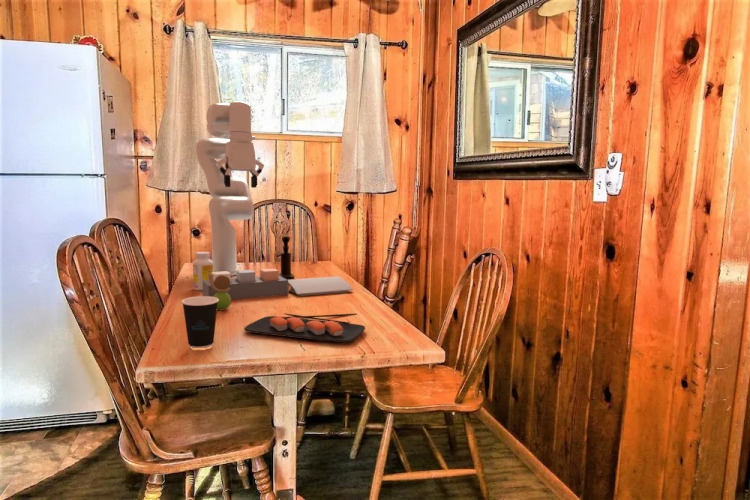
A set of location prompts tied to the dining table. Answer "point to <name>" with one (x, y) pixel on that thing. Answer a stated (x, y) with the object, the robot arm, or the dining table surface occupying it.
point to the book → (319, 286)
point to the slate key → (245, 276)
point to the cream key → (216, 274)
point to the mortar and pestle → (286, 260)
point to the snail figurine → (221, 290)
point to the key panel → (251, 288)
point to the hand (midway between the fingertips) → (241, 187)
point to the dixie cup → (200, 320)
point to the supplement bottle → (201, 269)
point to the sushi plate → (307, 327)
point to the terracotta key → (269, 274)
